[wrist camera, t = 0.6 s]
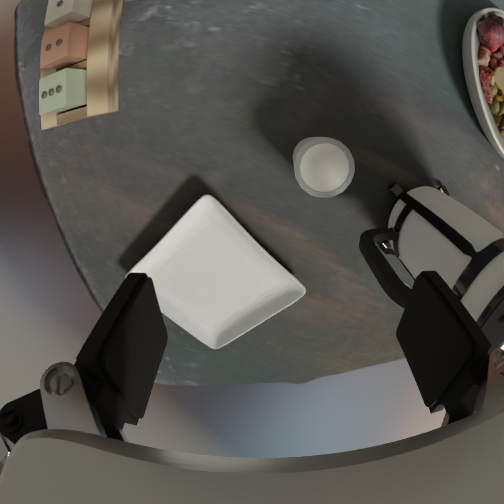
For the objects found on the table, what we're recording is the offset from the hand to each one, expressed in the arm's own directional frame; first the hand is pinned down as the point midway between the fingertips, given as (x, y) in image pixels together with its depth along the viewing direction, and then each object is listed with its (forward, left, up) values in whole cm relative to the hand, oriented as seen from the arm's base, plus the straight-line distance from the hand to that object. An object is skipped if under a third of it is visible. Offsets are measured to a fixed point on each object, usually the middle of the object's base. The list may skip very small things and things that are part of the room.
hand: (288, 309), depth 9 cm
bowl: (-21, +43, -29) cm, 56 cm away
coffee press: (+7, +22, -29) cm, 37 cm away
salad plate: (+18, -8, -29) cm, 36 cm away
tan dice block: (-20, -27, -27) cm, 43 cm away
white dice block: (-27, -27, -26) cm, 46 cm away
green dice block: (-13, -27, -27) cm, 40 cm away
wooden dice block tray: (-20, -27, -29) cm, 44 cm away
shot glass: (-1, +6, -29) cm, 30 cm away
